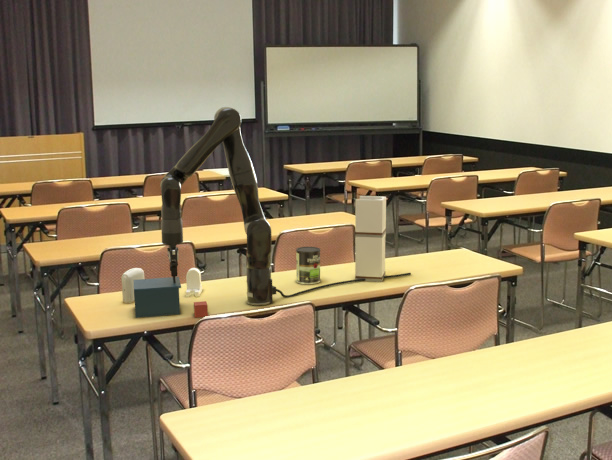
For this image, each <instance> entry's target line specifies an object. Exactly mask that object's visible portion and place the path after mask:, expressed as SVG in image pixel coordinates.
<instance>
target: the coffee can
mask: <svg viewBox="0 0 612 460" xmlns="http://www.w3.org/2000/svg"><path fill="white" fill-rule="evenodd" d="M295 259H296V260H295V262H296V269H295V270H296V281H295V282H296V283H297V284H301V285H315V284H319V283H321V248H320V247H317V246H301V247H297V248H296V249H295Z"/></svg>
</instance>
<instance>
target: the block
mask: <svg viewBox="0 0 612 460" xmlns="http://www.w3.org/2000/svg"><path fill="white" fill-rule="evenodd" d="M208 309H209V308H208V303H207V301H206V300H204V301H203V300H202V301H194V302H193V314H194V315H193V316H194V318H205V317H204V316H208V317H209V313H208V312H209V310H208Z"/></svg>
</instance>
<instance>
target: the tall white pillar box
mask: <svg viewBox="0 0 612 460" xmlns="http://www.w3.org/2000/svg"><path fill="white" fill-rule="evenodd" d="M354 207H355V217H354V218H355V228H354V233H355V234H354V237H355V238H354V239H355V240H354V241H355V244H354V246H355V247H354V248H355V249H354V254H355V256H354V259H355V260H354V264H355V265H354V266H355V267H354V272H355V273H354V280H356V279H366V280H365V281H364V282H375V283H376V282H377V283H382V282H383V281H384V279H385V278H383V276H386V237H387V196H381V195H380V196H379V195H378V196H377V195H359V198H355V206H354Z"/></svg>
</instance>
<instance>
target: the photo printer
mask: <svg viewBox="0 0 612 460" xmlns="http://www.w3.org/2000/svg"><path fill="white" fill-rule="evenodd" d="M120 279H121V291H122V292H121V293H122V302H123V303H124V304H131V303H135V301H134V280H138V279H145V272H144V270H143V268H140V267H133V268H130V269H128V270H126V271H125V272H124V273H122V275H121V278H120Z"/></svg>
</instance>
